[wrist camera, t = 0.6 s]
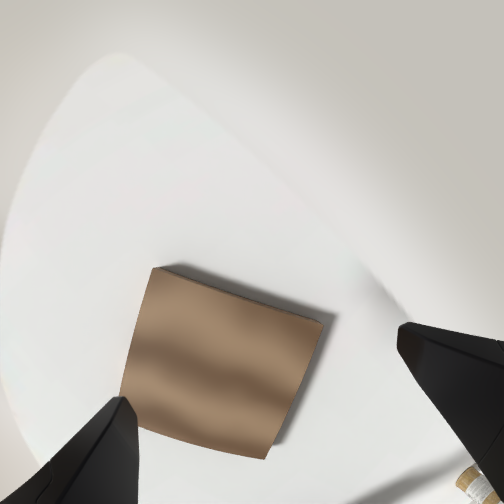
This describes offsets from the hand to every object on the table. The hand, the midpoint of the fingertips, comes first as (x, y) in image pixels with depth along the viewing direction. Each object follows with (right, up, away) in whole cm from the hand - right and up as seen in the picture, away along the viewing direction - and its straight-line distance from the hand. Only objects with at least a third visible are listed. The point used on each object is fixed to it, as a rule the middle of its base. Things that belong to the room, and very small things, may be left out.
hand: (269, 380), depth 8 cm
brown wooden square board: (-4, -6, +15) cm, 17 cm away
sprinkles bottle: (+37, -36, +19) cm, 54 cm away
